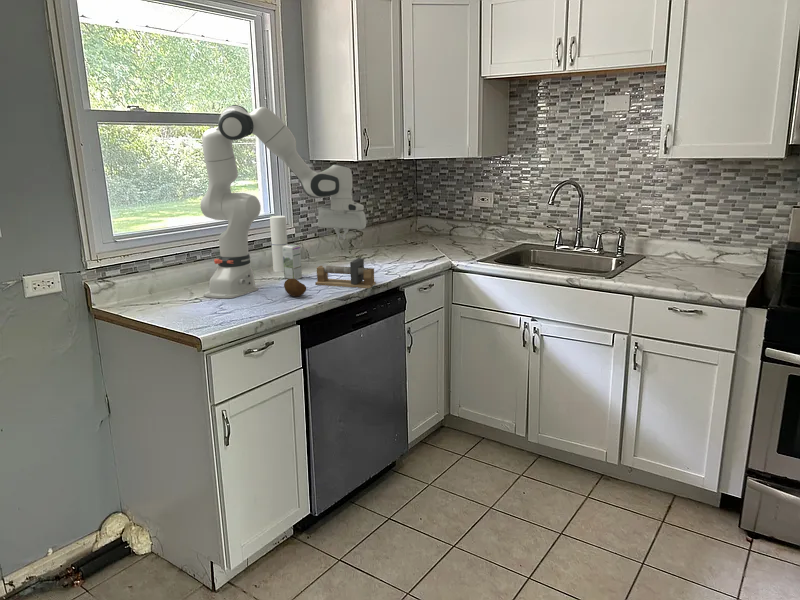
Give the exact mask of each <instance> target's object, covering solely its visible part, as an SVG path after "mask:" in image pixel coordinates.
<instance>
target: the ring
mask: <svg viewBox="0 0 800 600" xmlns="http://www.w3.org/2000/svg"><path fill="white" fill-rule="evenodd" d="M364 261H365V258H362V257H361V258H360V257H359V258H356V259H354V260H352V261H350V262H349V263H350V264H349V267H350V271H351V274H350V280H351V284H358V283H359V282H361V281H364V275H358V268H365V262H364Z"/></svg>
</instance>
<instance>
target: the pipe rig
mask: <svg viewBox="0 0 800 600" xmlns="http://www.w3.org/2000/svg"><path fill="white" fill-rule="evenodd" d="M329 274H339V275H351V271H350V266H339V265H337V266H336V265H319V266H317V267H316V282H315V285H316V286H329V287H341V286H342V287H343V288H356V287H358V288H359V289H371V288H372V287H373V285H374V286H375V285H376V284H377V281H375V268H372V267H364V268H358V275H364V280H363V281H361V282H359V283H358V284H351V279H341V278H340V279H339V278H329Z"/></svg>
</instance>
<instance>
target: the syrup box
mask: <svg viewBox="0 0 800 600" xmlns="http://www.w3.org/2000/svg"><path fill="white" fill-rule="evenodd" d="M282 250H283V264H284V272H283V276H284V279H286V280H288V279H292V278H294V279H296V280H298V279H301V278H303V272H302V271H303V269H302V258H301V257H302V254H301V245H299V244H298V245H296V244H287V245H285V246H282Z"/></svg>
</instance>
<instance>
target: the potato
mask: <svg viewBox="0 0 800 600" xmlns="http://www.w3.org/2000/svg"><path fill="white" fill-rule="evenodd" d="M283 288H284V290H285V292H287V294H288V295H289V296H291V297H295V298H297V297H301V296H302V295H304V294H305V293H306V291H307V286H306V285H305V283H302V282H301V281H299V280H298V279H294V278H292V279H286V280H285V281H284V283H283Z"/></svg>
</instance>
